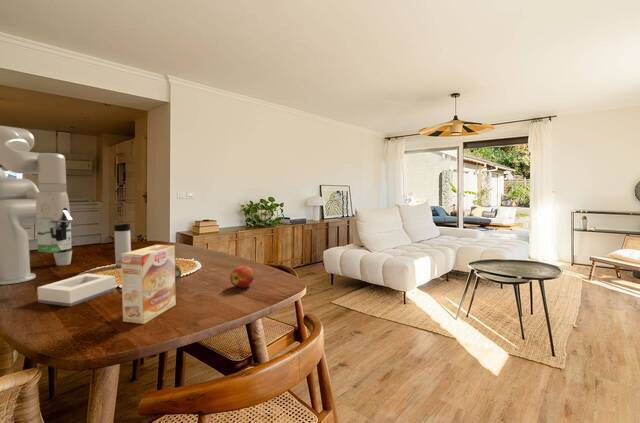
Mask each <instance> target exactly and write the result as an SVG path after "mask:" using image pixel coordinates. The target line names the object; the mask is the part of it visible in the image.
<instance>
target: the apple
mask: <svg viewBox="0 0 640 423" xmlns="http://www.w3.org/2000/svg"><path fill="white" fill-rule="evenodd" d="M229 276H230V277H229V280H230V283H231V284H232V285H233V286H234V287H236V288H240V289H242V288H244V289H245V288H246V287H248V286H250V285H251V284H252V283H253V281H254V277H255V273H254V270H252V268H250V267H249V266H246V265H245V266H244V265H241V266H238V267H235V269H233V270H232V271H231V273H230V275H229Z"/></svg>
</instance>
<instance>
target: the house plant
mask: <svg viewBox="0 0 640 423" xmlns="http://www.w3.org/2000/svg"><path fill="white" fill-rule="evenodd" d="M77 235H78V233H77V234H75V236H77ZM71 237H73V234H71ZM75 243H76V242H75V241H73V240H71V248H72V247H73V246H76V245H78V244H77V243H76V244H75ZM52 254H53V257H54V260H55V264H56V266H59V267H60V266H67V265H70V264H71V261H72V255H73V250H72V249H66V250H61V251H55V252H52Z"/></svg>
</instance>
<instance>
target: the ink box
mask: <svg viewBox="0 0 640 423" xmlns="http://www.w3.org/2000/svg"><path fill="white" fill-rule="evenodd" d="M61 220H62V219H61ZM60 224H62V222H60ZM36 226H37V227H36V228H37V253H38V252H39V253H48V254H49V253H53V252H55V251H61V250H66V249H67V250H68V249H69V250H72V247H71V246H72V244H71V243H72V236H71V235H72V222H71V223H70V224H69V225H68V228H67V229H66V236H67V239H66V240H61V241H57V240H56V230H58V229H57V225H56V221H55V222H53V221H52V220H51V219H47V218H38V219H37V222H36Z"/></svg>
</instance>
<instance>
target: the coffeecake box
mask: <svg viewBox="0 0 640 423" xmlns="http://www.w3.org/2000/svg"><path fill="white" fill-rule="evenodd" d="M175 247H176V246H175V245H171V244H154V245H151V246H147V247H144V248H139V249H135V250H131V252H127V253H123V254H121V267H120V269H121V296H122V297H121V298H122V303H121V304H122V322H125V323H133V324H143V325H145V324H146V323H148V322H149V321H151V320H153V319H154V318H156V317H158V316H159V315H161V314H163V313H165V312H166V311H167V310H169V309H171V308H172V307H174V306H176V305H177V304H176V302H177V300H176V283H175V264H176V261H175V260H176V257H175V256H176V254H175V252H176V251H175V249H176V248H175Z"/></svg>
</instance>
